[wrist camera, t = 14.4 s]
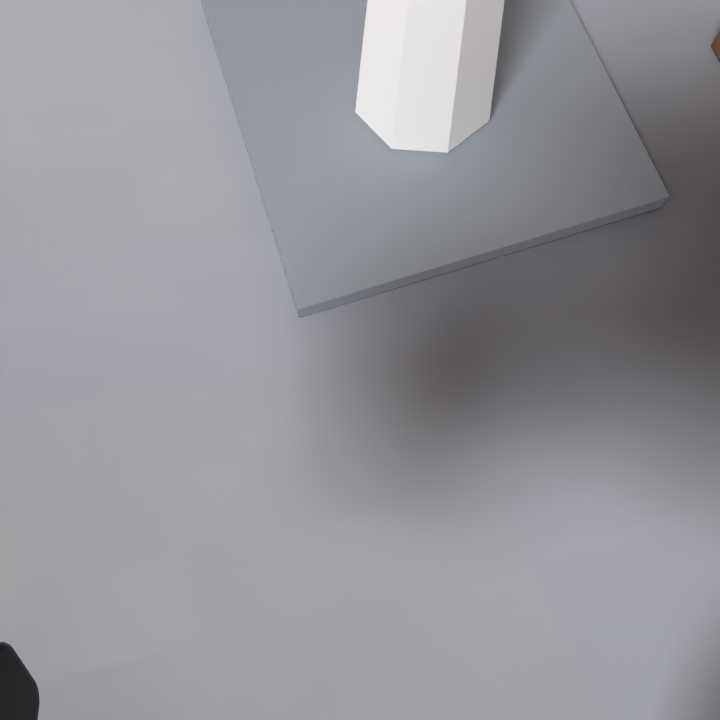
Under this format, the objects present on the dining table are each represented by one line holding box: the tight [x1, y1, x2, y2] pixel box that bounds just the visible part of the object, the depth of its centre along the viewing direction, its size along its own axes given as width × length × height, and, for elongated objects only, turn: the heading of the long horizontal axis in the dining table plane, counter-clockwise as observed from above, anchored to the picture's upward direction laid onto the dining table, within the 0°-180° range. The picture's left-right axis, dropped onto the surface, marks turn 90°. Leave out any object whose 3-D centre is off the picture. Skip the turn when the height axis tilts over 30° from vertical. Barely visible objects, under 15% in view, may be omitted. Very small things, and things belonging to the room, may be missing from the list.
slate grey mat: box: [201, 0, 670, 317], centre depth 25 cm, size 14×14×1 cm
